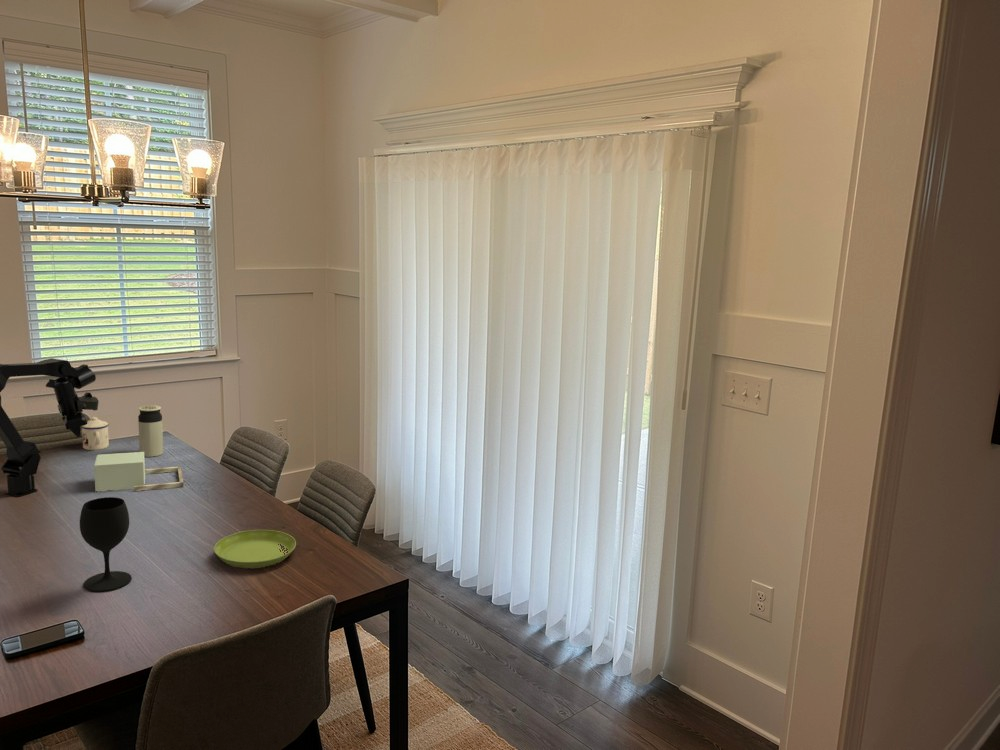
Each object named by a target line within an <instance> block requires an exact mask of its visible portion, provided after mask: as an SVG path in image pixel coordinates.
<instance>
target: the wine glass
mask: <svg viewBox="0 0 1000 750" xmlns="http://www.w3.org/2000/svg"><path fill="white" fill-rule="evenodd" d="M129 528H130V515H129V510H128V507H127V504H126V502H125V500H124V499H123V498H120V497H116V496H115V497H114V496H113V497H112V496H109V497H105V496H104V497H99V498H94V499H91V500H88V501H86V502H84V503H83V505H82V508H81V510H80V516H79V531H80V534H81V537H82V539H83V540H84V541H85V542H86V544H87V545H89V546H90V547H91V548H94V549H95V550H97V551H100V552H102V554H103V560H104V561H103V562H104V572H100V573H97V574H94V575H92V576H90V577H87V579H85V581H84V583H82V584H83V588H84V589H85V590H86V591H88V592H91V593H107V592H112V591H115V590H119V589H122V588H124V587H126V586H128V585H129V584H131V582H132V578H133V577H132V575H131V574H130V573H128V572H125V571H121V570H120V571H119V570H112V571H111V570H110V553H111V551H112V550H113V549H115V548H116V546H117V547H118V545H119V544H120V543H121V542H122V541H123V540H124V539H125V537H126V536H127V533H128V532H129Z"/></svg>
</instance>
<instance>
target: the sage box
mask: <svg viewBox="0 0 1000 750" xmlns="http://www.w3.org/2000/svg"><path fill="white" fill-rule="evenodd" d="M145 458H146V457H144V452H140V451H134V452H120V453H119V452H118V453H105V454H97V455H96V458H95V462H94V465H93V468H94V469H93V470H94V471H93V472H94V487H95V488H94V489H95V490H94V491H95V492H96V491H102V492H107V491H106V490H114V491H120V490H119V489H126V490H131V489H130V488H134V486H141V485H144V484H145V485H146V483H145V482H146V474H145V469H146V465H145V463H146V462H145Z"/></svg>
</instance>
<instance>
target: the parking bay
mask: <svg viewBox="0 0 1000 750" xmlns="http://www.w3.org/2000/svg"><path fill="white" fill-rule="evenodd" d="M164 472H168V473H178V475H177V476H178V481H177V482H165V483H155V484H154V483H153V484H145V485H141V486H134V489H133V490H134V492H142V491H141V490H145V491H152V489H153V491H154V489H156V490H162V489H163V490H165V488H166V489H177V488H184V479H183V478H184V477H183V471H182V466H181V465H179V466H169V467H159V468H145V475H152V474H151V473H156V474H165V473H164Z"/></svg>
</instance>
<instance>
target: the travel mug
mask: <svg viewBox="0 0 1000 750" xmlns="http://www.w3.org/2000/svg"><path fill="white" fill-rule="evenodd" d="M161 409H162V407H161V406H160V405H154V404H153V405H151V404H150V405H149V404H148V405H142V406H140V407H138V410H139V414H138V416H137V419H138V421H137V422H138V423H137V424H138V441H139V442H138V443H139V452H144V458H152V457H153V458H154V456H155V457H159V456H161V455H163V454H164V438H163V437H164V435H163V434H164V432H163V415H162V413H161Z"/></svg>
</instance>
